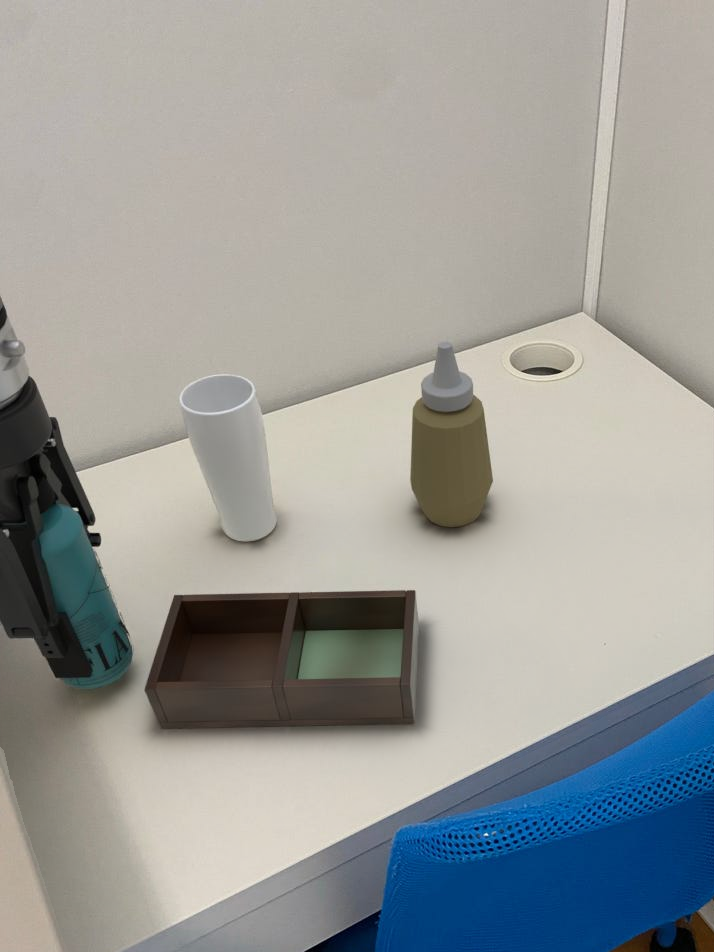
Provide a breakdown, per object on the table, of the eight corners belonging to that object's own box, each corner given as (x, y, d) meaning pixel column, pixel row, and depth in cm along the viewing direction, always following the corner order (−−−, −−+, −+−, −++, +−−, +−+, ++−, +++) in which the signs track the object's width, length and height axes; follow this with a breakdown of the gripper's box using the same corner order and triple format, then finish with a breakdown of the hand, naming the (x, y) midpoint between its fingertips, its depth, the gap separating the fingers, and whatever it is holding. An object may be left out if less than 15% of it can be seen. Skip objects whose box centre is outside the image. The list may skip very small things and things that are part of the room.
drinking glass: (208, 549, 90) (168, 414, 79) (224, 505, 95) (188, 372, 84) (278, 549, 90) (247, 414, 79) (290, 505, 95) (263, 372, 84)
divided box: (160, 728, 75) (143, 689, 72) (187, 634, 82) (173, 594, 79) (414, 723, 75) (410, 684, 71) (419, 629, 82) (415, 589, 79)
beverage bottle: (93, 716, 75) (0, 521, 61) (44, 678, 78) (-57, 484, 64) (157, 668, 79) (84, 473, 65) (108, 634, 82) (26, 440, 67)
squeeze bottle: (472, 544, 90) (467, 377, 77) (398, 523, 92) (381, 357, 80) (506, 497, 95) (506, 332, 82) (435, 478, 98) (425, 315, 85)
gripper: (-24, 483, 52) (101, 736, 69) (74, 316, 65) (159, 562, 82) (-158, 484, 52) (-1, 737, 69) (-33, 317, 65) (74, 563, 82)
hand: (86, 642), depth 76 cm, fingers closed on beverage bottle, 6 cm apart
